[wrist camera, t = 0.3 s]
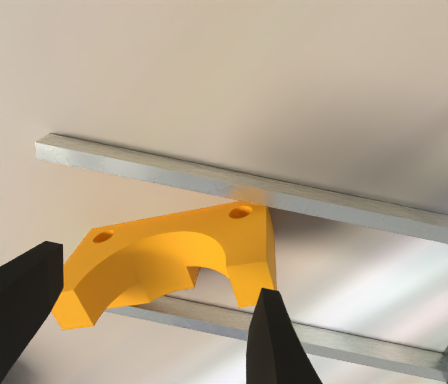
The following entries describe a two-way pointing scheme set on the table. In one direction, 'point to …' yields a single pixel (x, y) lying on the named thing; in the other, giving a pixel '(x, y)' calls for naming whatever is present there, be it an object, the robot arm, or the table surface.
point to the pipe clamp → (167, 260)
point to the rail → (276, 198)
